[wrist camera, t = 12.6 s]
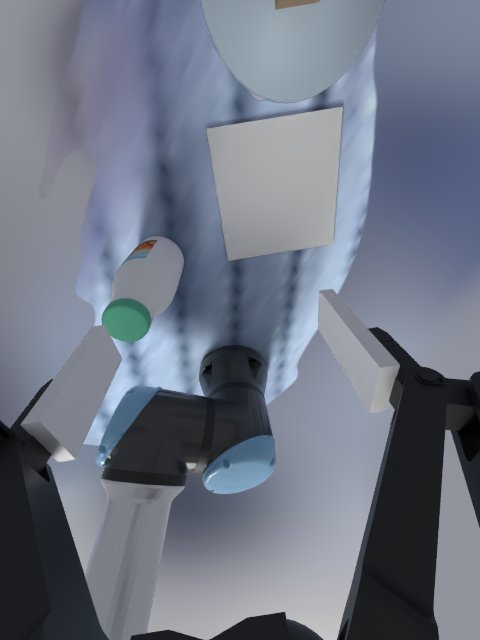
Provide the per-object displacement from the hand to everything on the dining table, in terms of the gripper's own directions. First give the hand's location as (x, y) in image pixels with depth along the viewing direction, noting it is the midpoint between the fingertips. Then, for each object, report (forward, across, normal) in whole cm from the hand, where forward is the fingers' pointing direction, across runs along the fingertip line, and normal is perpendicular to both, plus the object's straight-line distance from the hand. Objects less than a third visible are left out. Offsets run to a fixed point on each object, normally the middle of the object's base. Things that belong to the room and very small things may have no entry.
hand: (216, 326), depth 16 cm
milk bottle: (+29, +10, +4) cm, 31 cm away
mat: (+29, -10, -3) cm, 31 cm away
